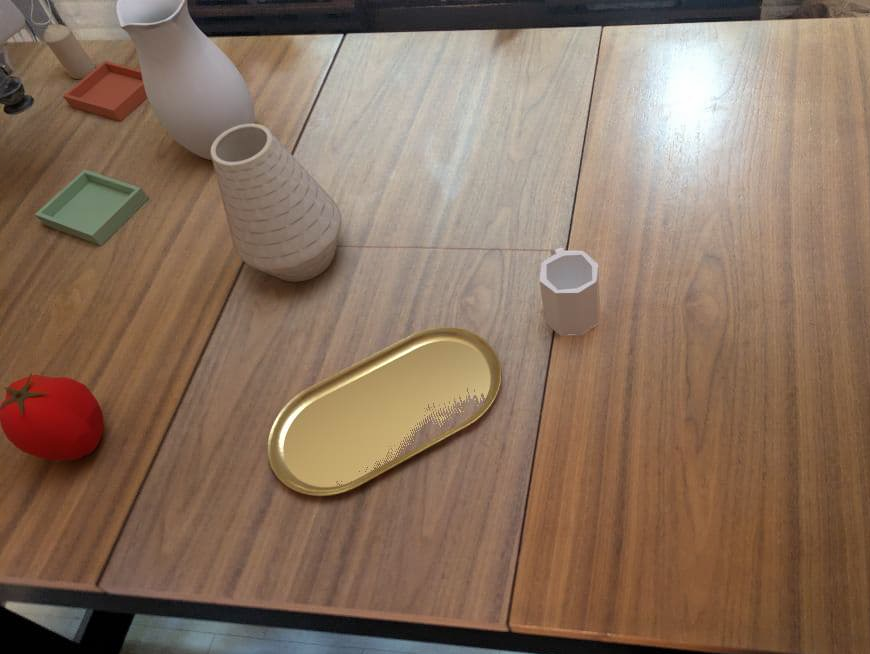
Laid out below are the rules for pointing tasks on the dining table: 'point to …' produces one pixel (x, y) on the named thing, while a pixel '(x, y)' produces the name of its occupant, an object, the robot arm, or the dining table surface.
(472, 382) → the serving platter
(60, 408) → the tomato
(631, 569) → the dining table surface
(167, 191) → the dining table surface
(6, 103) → the dark grey figurine
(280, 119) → the dining table surface
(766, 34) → the dining table surface
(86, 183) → the green tray
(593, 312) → the mug
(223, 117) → the pitcher
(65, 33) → the candle
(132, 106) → the terracotta tray
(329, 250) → the vase
